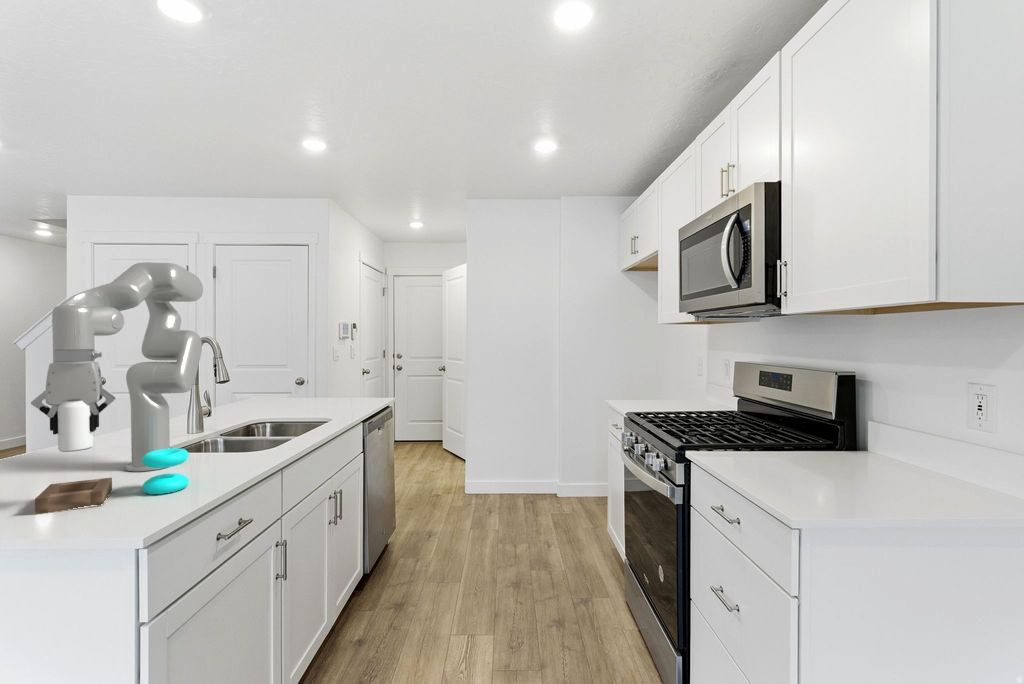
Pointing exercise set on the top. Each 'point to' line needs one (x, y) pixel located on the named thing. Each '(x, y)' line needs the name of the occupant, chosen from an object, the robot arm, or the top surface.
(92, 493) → the socket block
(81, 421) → the can
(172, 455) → the donuts
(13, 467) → the top surface
